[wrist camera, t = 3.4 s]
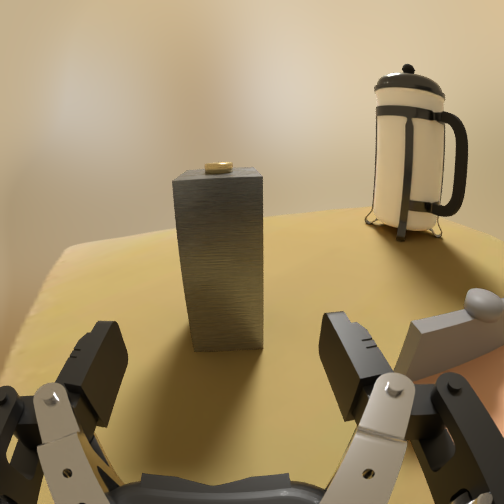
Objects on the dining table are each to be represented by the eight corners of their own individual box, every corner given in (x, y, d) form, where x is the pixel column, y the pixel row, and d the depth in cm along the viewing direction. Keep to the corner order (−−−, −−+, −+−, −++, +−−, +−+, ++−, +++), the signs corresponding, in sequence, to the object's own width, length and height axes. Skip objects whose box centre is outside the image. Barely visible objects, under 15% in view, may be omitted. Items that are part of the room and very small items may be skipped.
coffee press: (351, 233, 44) (353, 48, 32) (375, 214, 55) (377, 73, 44) (454, 257, 34) (463, 54, 22) (452, 231, 45) (459, 80, 34)
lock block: (255, 304, 25) (253, 159, 21) (263, 348, 20) (262, 165, 15) (200, 307, 25) (186, 162, 20) (194, 351, 20) (171, 170, 15)
